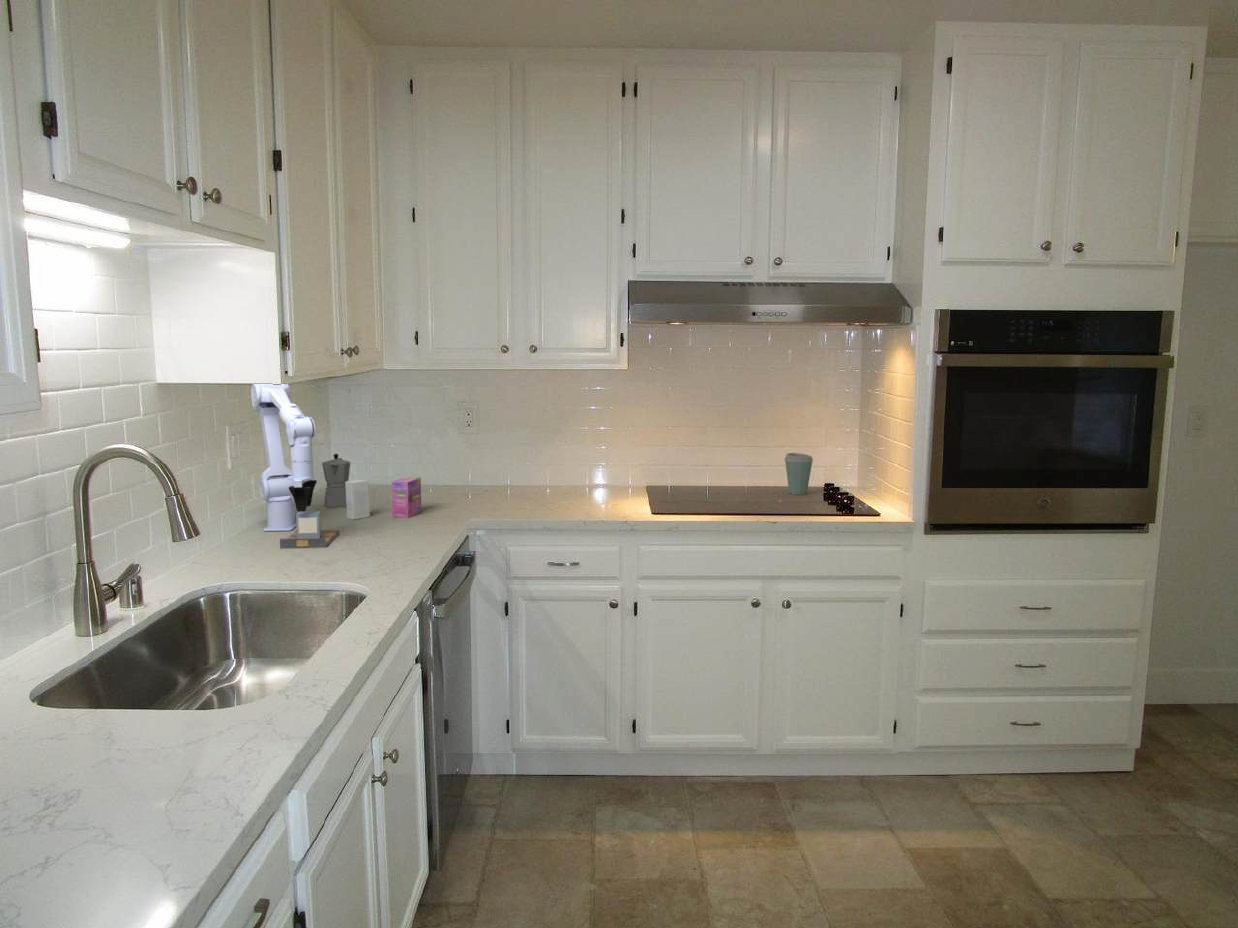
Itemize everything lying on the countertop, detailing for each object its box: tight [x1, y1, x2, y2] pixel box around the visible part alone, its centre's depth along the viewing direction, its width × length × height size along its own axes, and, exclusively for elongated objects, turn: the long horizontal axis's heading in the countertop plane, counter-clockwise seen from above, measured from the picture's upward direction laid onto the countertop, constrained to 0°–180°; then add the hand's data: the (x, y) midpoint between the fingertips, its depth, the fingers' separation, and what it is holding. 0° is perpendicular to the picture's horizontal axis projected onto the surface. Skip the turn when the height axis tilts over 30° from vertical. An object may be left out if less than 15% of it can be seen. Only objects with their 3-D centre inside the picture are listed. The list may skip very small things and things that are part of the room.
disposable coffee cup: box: [784, 452, 814, 495], centre depth 324 cm, size 11×11×15 cm
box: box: [391, 476, 422, 519], centre depth 281 cm, size 10×6×12 cm, turn 168°
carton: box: [295, 510, 322, 538], centre depth 242 cm, size 4×6×7 cm
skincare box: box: [345, 479, 371, 520], centre depth 275 cm, size 6×4×12 cm
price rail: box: [279, 538, 327, 549], centre depth 235 cm, size 1×12×2 cm, turn 96°
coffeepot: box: [321, 453, 351, 509], centre depth 296 cm, size 15×9×18 cm, turn 8°
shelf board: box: [286, 529, 340, 547], centre depth 244 cm, size 16×12×1 cm
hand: (304, 508), depth 242 cm, fingers open, 7 cm apart
